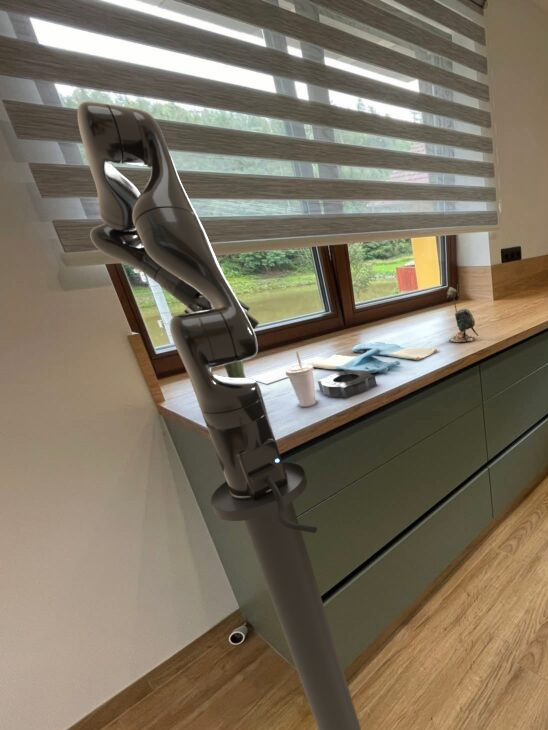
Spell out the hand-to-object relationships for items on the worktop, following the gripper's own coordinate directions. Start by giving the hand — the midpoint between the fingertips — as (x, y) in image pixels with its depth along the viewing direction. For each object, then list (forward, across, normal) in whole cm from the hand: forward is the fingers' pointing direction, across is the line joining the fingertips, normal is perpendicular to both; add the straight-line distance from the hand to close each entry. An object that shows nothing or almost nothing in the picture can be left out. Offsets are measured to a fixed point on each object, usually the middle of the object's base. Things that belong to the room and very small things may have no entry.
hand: (245, 330), depth 103 cm
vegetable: (+3, +1, +11) cm, 11 cm away
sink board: (+26, +10, +2) cm, 28 cm away
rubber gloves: (+25, +36, +4) cm, 44 cm away
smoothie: (+22, 0, +6) cm, 23 cm away
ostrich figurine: (+44, +55, -16) cm, 72 cm away
